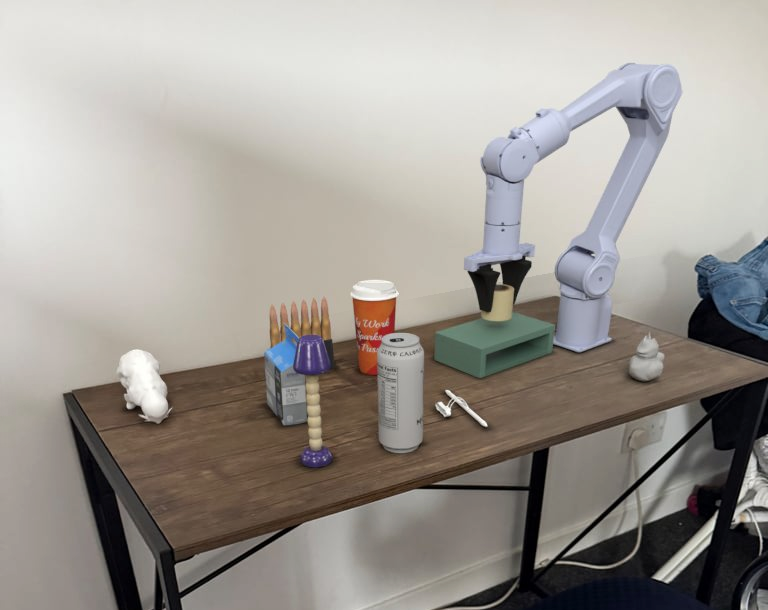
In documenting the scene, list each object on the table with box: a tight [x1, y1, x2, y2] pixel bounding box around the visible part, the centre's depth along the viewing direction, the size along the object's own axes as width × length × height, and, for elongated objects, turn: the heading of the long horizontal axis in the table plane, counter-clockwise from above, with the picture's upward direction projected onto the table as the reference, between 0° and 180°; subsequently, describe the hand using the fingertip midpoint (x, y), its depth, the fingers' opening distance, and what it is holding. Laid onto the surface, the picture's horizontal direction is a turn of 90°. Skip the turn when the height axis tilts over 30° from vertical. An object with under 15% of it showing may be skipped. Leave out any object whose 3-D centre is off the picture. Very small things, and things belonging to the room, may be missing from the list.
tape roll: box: [480, 283, 514, 321], centre depth 126 cm, size 5×5×5 cm
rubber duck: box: [628, 331, 666, 382], centre depth 120 cm, size 5×7×8 cm
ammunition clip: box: [269, 296, 336, 370], centre depth 123 cm, size 11×2×12 cm, turn 116°
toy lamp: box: [293, 335, 333, 468], centre depth 96 cm, size 5×5×17 cm
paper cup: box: [350, 279, 400, 376], centre depth 123 cm, size 8×8×14 cm
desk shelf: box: [433, 311, 556, 379], centre depth 130 cm, size 18×11×5 cm, turn 129°
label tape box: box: [263, 323, 308, 426], centre depth 110 cm, size 9×4×12 cm, turn 23°
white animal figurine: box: [116, 348, 173, 425], centre depth 111 cm, size 6×8×12 cm
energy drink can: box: [376, 332, 425, 454], centre depth 99 cm, size 6×6×15 cm
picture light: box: [434, 389, 488, 428], centre depth 112 cm, size 14×4×2 cm, turn 21°
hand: (496, 307), depth 127 cm, fingers closed on tape roll, 5 cm apart
